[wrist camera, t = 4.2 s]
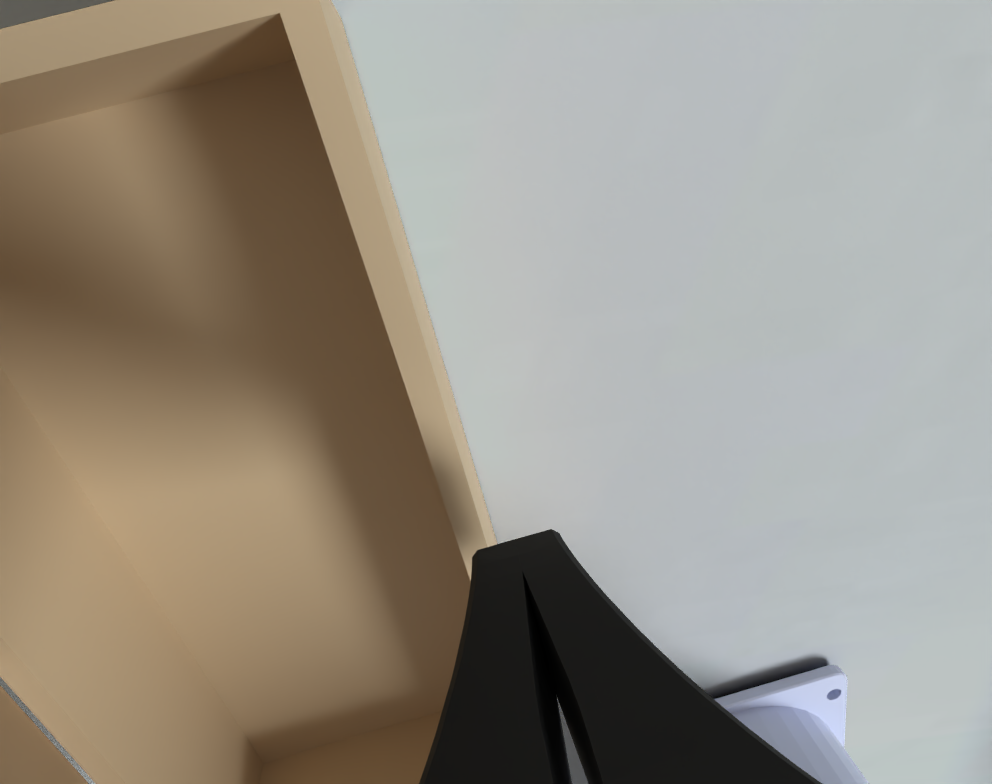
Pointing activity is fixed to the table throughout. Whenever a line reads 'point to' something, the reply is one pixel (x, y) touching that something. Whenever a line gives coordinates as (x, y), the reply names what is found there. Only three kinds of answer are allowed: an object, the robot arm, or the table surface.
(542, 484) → the table surface
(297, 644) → the carton
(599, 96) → the table surface
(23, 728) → the lid flap
